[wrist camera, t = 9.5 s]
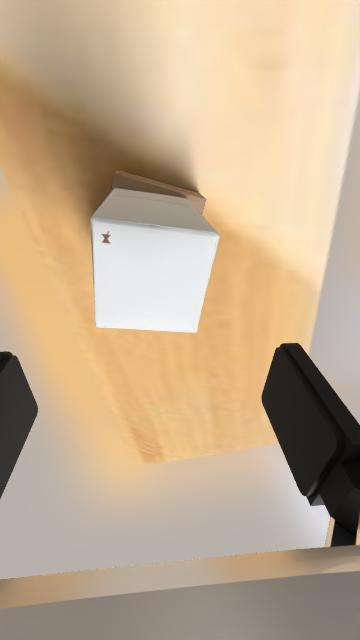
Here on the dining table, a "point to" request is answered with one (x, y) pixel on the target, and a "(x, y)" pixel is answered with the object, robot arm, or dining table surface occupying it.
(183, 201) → the supplement box
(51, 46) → the dining table surface
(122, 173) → the walnut block
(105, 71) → the dining table surface
